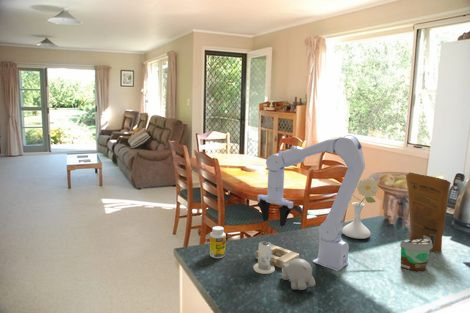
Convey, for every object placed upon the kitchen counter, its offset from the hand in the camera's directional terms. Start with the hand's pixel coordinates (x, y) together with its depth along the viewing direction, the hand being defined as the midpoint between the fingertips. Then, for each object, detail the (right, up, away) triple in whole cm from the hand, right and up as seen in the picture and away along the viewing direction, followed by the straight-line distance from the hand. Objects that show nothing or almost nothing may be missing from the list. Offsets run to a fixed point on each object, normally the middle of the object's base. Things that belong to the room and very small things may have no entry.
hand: (273, 222), depth 134 cm
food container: (+47, -14, -11) cm, 50 cm away
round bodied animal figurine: (+4, -15, -23) cm, 28 cm away
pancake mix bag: (+59, -11, +10) cm, 61 cm away
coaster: (-5, -13, -14) cm, 19 cm away
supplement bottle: (-20, -11, -4) cm, 24 cm away
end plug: (-5, -12, -14) cm, 19 cm away
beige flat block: (+1, -12, -6) cm, 13 cm away
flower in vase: (+36, -9, +17) cm, 41 cm away
